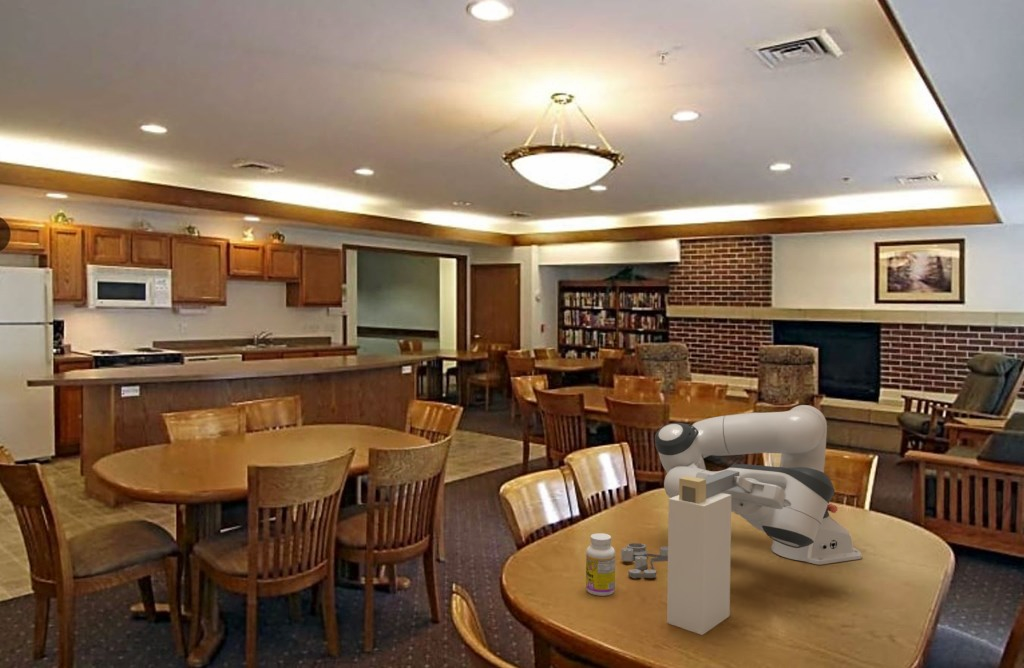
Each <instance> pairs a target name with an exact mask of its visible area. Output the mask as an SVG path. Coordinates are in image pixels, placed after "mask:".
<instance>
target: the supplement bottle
mask: <svg viewBox="0 0 1024 668" xmlns="http://www.w3.org/2000/svg"><path fill="white" fill-rule="evenodd" d="M590 543H591V544H590V545H589V546H588V547H587V548H586V551H585V552H586V553H585V554H586V555H585V559H586V560H585V563H586V564H585V589H586V591H587V592H588V594H591V595H593V596H596V595H597V596H598V597H604V596H605V597H606V596H610V595H611V596H612V595H613V594H614V592H615V589H616V550H615V548H614V547H613V546H612V545H611V543H612V535H609V534H607V533H603V532H601V533H600V532H599V533H597V532H596V533H592V534H591V535H590Z"/></svg>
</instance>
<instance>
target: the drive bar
mask: <svg viewBox="0 0 1024 668" xmlns="http://www.w3.org/2000/svg"><path fill="white" fill-rule="evenodd" d="M723 470H724V471H722V470H721V471H722V472H719V473H716V474H713V475H711V476H708V477H705V478H702V479H701V478H696V477H690V476H685V477H682V478H679V500H684V501H688V502H693V503H698V504H699V503H701V502H704V501H706V499H707V498H709V497H711V496H714V495H716V494H719V493H721V492H724V491H726V490H729V489H731V488H733V487H736V486H735V485H734V484H733V483H732V480H733V476H738V477H739V472H738V471H732V470H725V469H723Z"/></svg>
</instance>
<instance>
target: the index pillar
mask: <svg viewBox="0 0 1024 668" xmlns="http://www.w3.org/2000/svg"><path fill="white" fill-rule="evenodd" d="M667 516H668V518H667V519H668V520H667V521H668V522H667V524H668V528H667V531H668V532H667V547H668V561H667V592H666V593H667V597H666V598H667V599H666V602H667V603H666V605H667V606H666V608H667V609H666V611H667V612H666V623H667V624H669V625H672V626H675V627H678V628H681V629H683V630H686V631H689V632H692V633H695V634H698V635H701V636H703V635H705V634H706V633H707V632H709V631H711V630H712V629H713V628H714V627H716V626H718V625H720V623H722V622H723V621H725V620H727V618H729V617H730V613H731V612H730V610H731V607H730V606H731V605H730V603H731V602H730V601H731V556H732V555H731V551H732V550H731V549H732V548H731V546H732V544H731V543H732V542H731V541H732V539H731V537H732V511H731V495H730V494H725V493H719V494H716V495H714V496H711V497H709V498H707V499H706V501H704V502H701V503H699V504H698V503H693V502H688V501H684V500H679V495H677V496H675V497H672V498H670V497H669V498H668V515H667Z"/></svg>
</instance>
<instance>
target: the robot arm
mask: <svg viewBox="0 0 1024 668" xmlns="http://www.w3.org/2000/svg"><path fill="white" fill-rule="evenodd" d="M827 429H828V423H827V419H826V418H825V415H824V414H823V412H822V411H820V410H819V409H818V408H817V407H814V406H811V405H806V404H800V405H796V406H794V407H792V408H791V409H790V410H786V411H772V412H771V411H770V412H749V413H748V412H747V413H738V414H737V413H736V414H726V415H719V416H715V417H709V418H705V419H701V420H698V421H695V422H694V423H692V424H689V423H683V422H671V423H667V424H665V425H663V426H661V427H660V428H659V429H658V431H656V433H655V434H654V445H655V449H656V452H658V456H659V459H660V463H661V464H662V467H663V469H664V470H665V472H666V475H665V477H664V480H663V488H664V491H665V494H666V495H667V497H669V499H670V498H672V497H675V496H677V495H679V478H682V477H685V476H690V477H696V478H701V479H702V478H705V477H708V476H711V475H713V474H716V473H719V472H722V471H724V470H732V471H738V472H739V477H738V476H733V480H732V483H733V484H734V485H735V486H736V487H733V488H731V489H729V490H726V491H724V492H721V493H725V494H730V495H731V513H734V514H736V515H739V516H740V517H741V518H743V519H744V520H746V522H747V523H748V524H750V525H751V526H752V527H754V528H756V529H757V530H759V531H762V532H764V533H765V534H766V535H767V537H769V538H770V539H771V540H773V541H772V545H771V547H770V549H771V552H773V553H775V554H776V555H778V556H781V557H783V558H786V559H790V560H795V561H801V562H805V563H810V564H813V565H817V566H818V565H827V564H833V563H839V562H840V563H841V562H848V561H855V560H861V559H862V558H863V557H862V552H861V551H860V550H858V548H855V547H854V546H853V542H852V536H851V533H850V532H849V531H848V530H847V529H846V528H845V527H844V526H843V525H841V524H840V523H839V522H838V521H837V520H836V519H834V518H833V517H832V516H831V515H830V513H832V514H836V513H837V512H838V507H837V505H834V504H832V503H830V502H831V500H832V498H833V496H834V494H835V488H834V485H833V482H832V480H831V478H830V477H829V475H827V474H826V473H825V462H826V448H827V432H828V431H827ZM750 454H780V463H779V466H771V465H770V466H769V465H759V464H758V465H757V464H741V463H740V464H739V463H737V464H731V465H730V466H729V467H727V468H726V469H723V470H717V471H714V470H713V471H711V470H708V469H707V467H706V464H705V460H704V459H705V458H707V457H711V456H736V455H737V456H738V455H750ZM829 512H830V513H829Z"/></svg>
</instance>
